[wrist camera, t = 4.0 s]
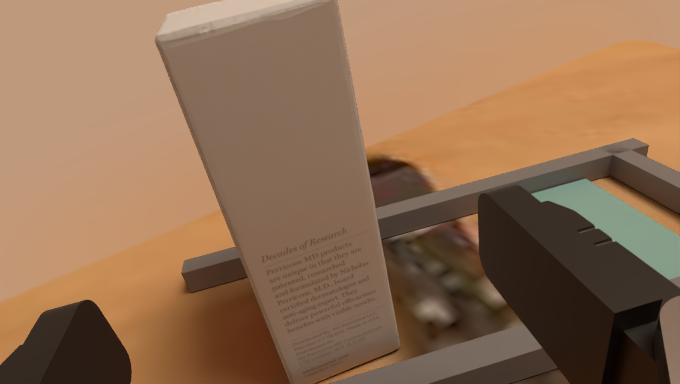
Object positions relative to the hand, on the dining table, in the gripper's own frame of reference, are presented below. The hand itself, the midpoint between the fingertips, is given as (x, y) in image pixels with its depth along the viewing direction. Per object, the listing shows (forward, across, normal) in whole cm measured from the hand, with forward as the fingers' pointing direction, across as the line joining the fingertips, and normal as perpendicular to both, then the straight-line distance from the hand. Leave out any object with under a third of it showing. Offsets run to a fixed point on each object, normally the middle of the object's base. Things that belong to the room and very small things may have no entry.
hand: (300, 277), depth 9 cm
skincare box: (+6, 0, +7) cm, 9 cm away
